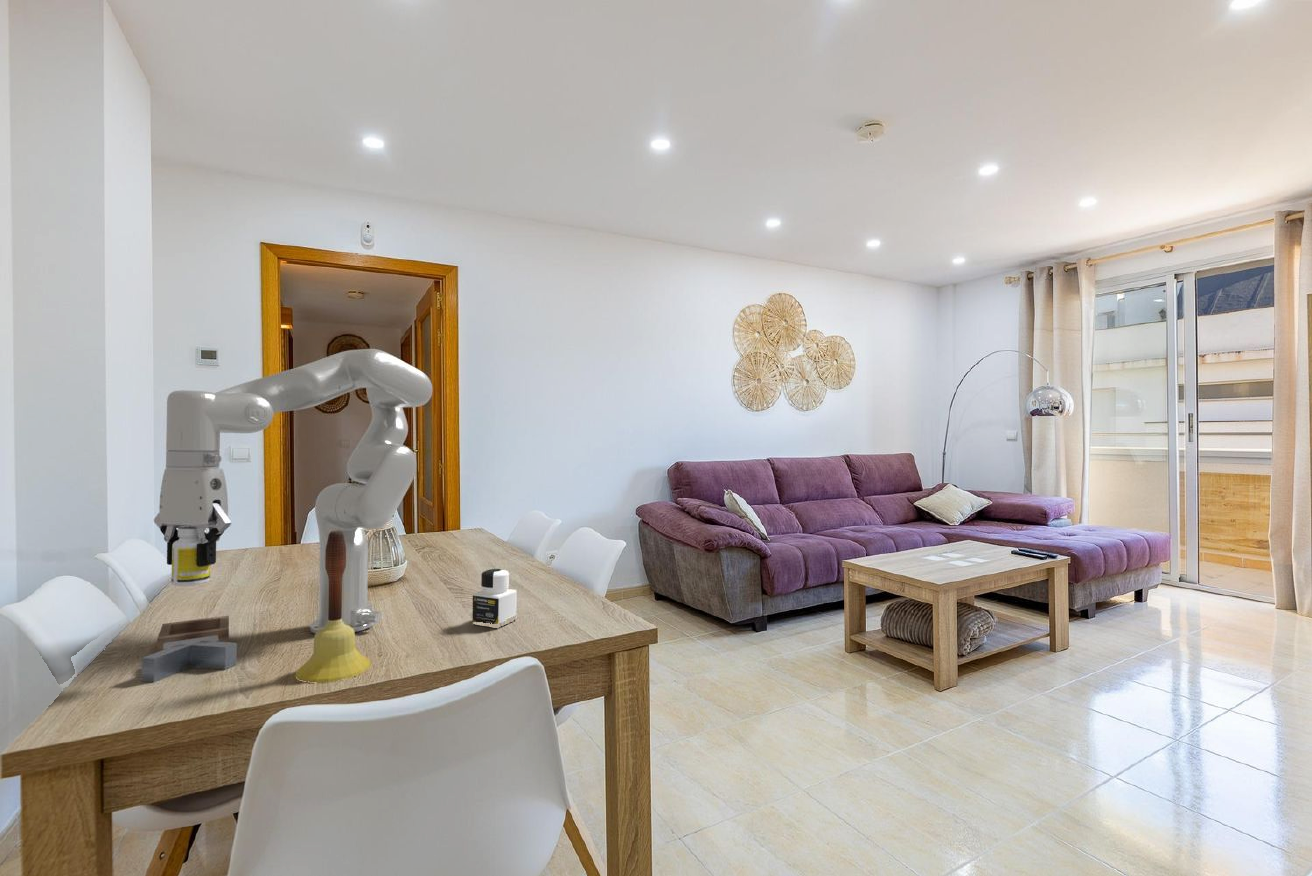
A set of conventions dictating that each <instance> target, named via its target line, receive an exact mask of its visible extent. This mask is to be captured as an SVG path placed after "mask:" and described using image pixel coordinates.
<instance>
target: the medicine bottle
mask: <svg viewBox="0 0 1312 876" xmlns="http://www.w3.org/2000/svg"><path fill="white" fill-rule="evenodd" d="M509 581H510V573H509V571H508V570H506V569H502V568H491V569H486V570H484V571H483V572H482V573H481V582H480V583H481V584H480V585H481V590H480V591H477V592H475V593H472V614H471V615H472V618H471V621H472V622H483V623H490V624H491V623H492V624H499V623H501V622H504V621H506V620H507V619H509V618H511V617H513V616H515V615H516V616H517V601H518V600H517V599H518V597H517V596H518V595H517V593H518V592H517V590H516V589H511V588H510V589H509V587H510V583H509Z"/></svg>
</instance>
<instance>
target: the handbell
mask: <svg viewBox="0 0 1312 876" xmlns="http://www.w3.org/2000/svg"><path fill="white" fill-rule="evenodd" d="M345 567H346V545H345V541H344V535H343V532H342V531H331V532H330V533H329V536H328V541H327V545H326V551H325V568H326V571H327V574H328V579H329V605H328V622H327V624H326V626H325V627H323V628H321V629H320V630H319V631H318V632H317V633H316V634H315V633H314V639H313V653H312V655H310V657H309V659H308V660H307V661H306V662H304V664H302V665H301V666H300V667H299V668H298V669H297V670H296V672H295V674H296V675H295V674H294V678H295V677H297V678H298V679H299V680H303V681H306V682H308V681H309V682H317V683H321V684H329V683H328V682H332V683H334V682H333V681H338V680H342V679H346V678H349V677H354V676H356V675H358V674H360V673H362V672H363V671H364V670H367V669H368V668H369V666H370V662H371V660H370V659H369V658H367V657H366V656H364V655H362V654H361V653H360V652H359V651H358V650H357V648H356V636H355V635H356V634H355V633H356V632H354V630H353V628H351V627H350V626H348V625H345V624H344V623H343V621H342V577H343V573H344V570H345ZM356 677H357V676H356ZM354 678H355V677H354ZM323 682H324V683H323ZM326 682H327V683H326ZM338 682H339V681H338Z"/></svg>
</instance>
